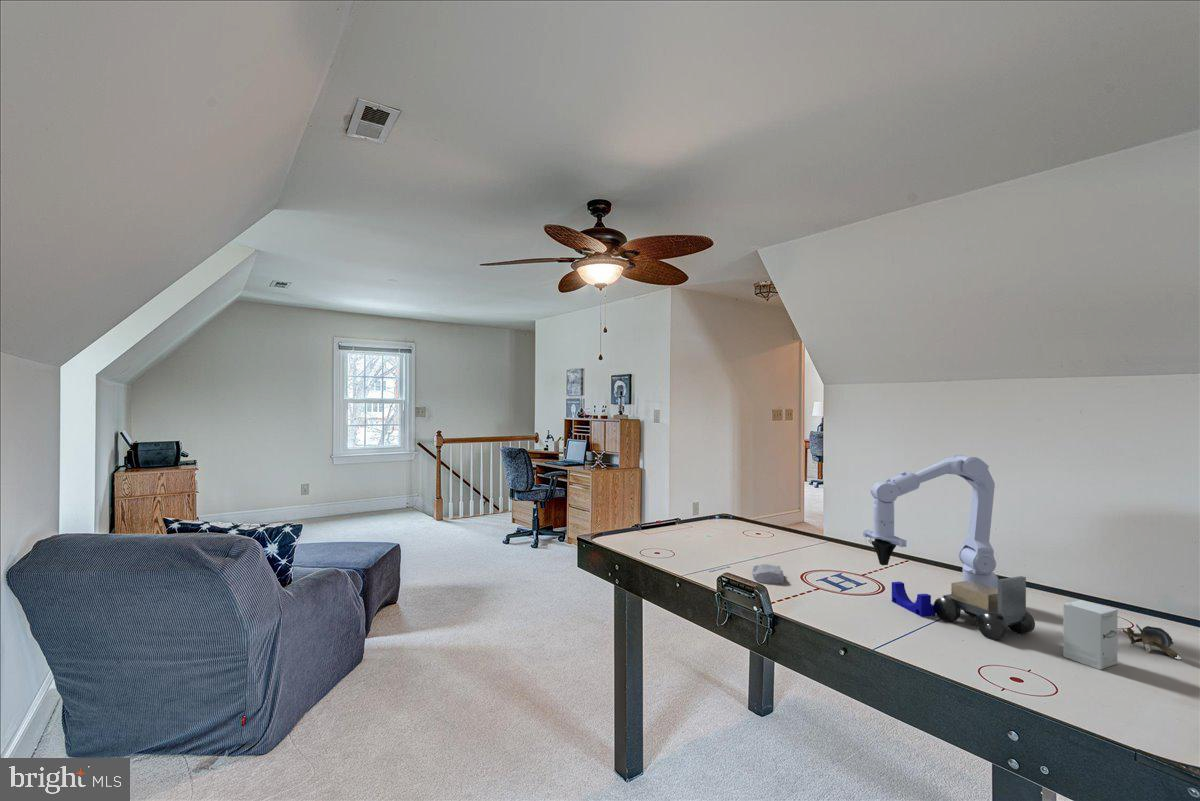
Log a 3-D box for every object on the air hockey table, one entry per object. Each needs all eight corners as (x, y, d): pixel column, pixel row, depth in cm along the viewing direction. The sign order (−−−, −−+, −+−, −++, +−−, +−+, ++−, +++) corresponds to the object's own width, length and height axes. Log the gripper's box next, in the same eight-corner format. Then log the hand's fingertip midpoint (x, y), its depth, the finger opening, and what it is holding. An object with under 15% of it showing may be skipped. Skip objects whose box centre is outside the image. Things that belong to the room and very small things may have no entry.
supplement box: (1101, 670, 119) (1101, 613, 119) (1062, 656, 126) (1061, 602, 126) (1119, 664, 122) (1118, 609, 122) (1079, 651, 129) (1079, 598, 129)
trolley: (966, 611, 154) (966, 558, 154) (1035, 636, 137) (1035, 577, 137) (933, 616, 150) (933, 562, 150) (1000, 643, 133) (1000, 582, 133)
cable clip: (935, 616, 150) (935, 595, 150) (921, 617, 149) (921, 595, 149) (905, 601, 162) (905, 581, 162) (891, 602, 161) (891, 582, 161)
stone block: (755, 588, 177) (786, 584, 176) (752, 574, 178) (783, 569, 176) (752, 578, 189) (781, 575, 187) (749, 565, 189) (778, 561, 188)
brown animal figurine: (1121, 644, 130) (1172, 652, 123) (1121, 615, 133) (1171, 621, 126) (1135, 656, 133) (1186, 665, 125) (1135, 628, 136) (1185, 634, 128)
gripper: (855, 517, 173) (855, 559, 173) (894, 526, 159) (894, 572, 159) (872, 516, 175) (872, 557, 175) (911, 525, 162) (911, 570, 161)
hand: (883, 564), depth 167 cm, fingers closed
